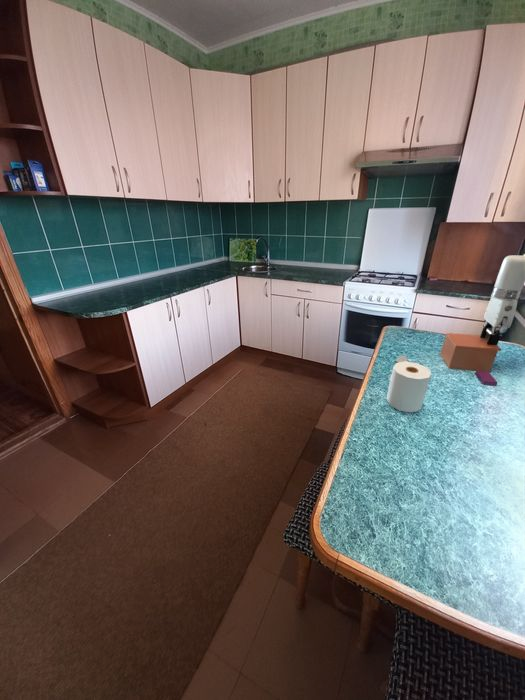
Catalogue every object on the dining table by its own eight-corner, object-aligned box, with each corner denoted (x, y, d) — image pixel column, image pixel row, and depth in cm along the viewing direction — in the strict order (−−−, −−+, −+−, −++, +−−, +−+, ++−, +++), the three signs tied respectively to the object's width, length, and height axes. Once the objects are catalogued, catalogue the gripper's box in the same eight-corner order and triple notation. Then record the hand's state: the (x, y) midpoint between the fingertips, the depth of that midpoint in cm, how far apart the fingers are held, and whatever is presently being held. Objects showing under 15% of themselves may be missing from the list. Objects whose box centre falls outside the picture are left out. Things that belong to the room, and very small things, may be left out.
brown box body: (477, 357, 117) (484, 337, 113) (489, 372, 107) (498, 350, 103) (439, 354, 120) (445, 334, 116) (448, 368, 110) (455, 347, 106)
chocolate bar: (474, 374, 106) (476, 370, 105) (487, 375, 105) (488, 371, 104) (482, 384, 100) (484, 380, 99) (496, 386, 99) (497, 382, 98)
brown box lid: (486, 337, 113) (491, 324, 110) (500, 351, 103) (506, 337, 100) (445, 334, 116) (449, 322, 113) (455, 347, 106) (459, 333, 103)
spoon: (409, 360, 116) (409, 356, 115) (396, 383, 101) (397, 379, 100) (398, 357, 118) (398, 353, 117) (384, 380, 103) (385, 376, 102)
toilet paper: (387, 390, 98) (394, 358, 92) (421, 397, 94) (430, 365, 88) (385, 407, 90) (392, 374, 84) (422, 416, 86) (432, 381, 80)
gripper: (532, 301, 91) (511, 352, 99) (506, 287, 106) (489, 333, 114) (505, 300, 93) (486, 350, 101) (482, 286, 108) (468, 331, 116)
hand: (488, 340), depth 108 cm, fingers closed on brown box lid, 5 cm apart
